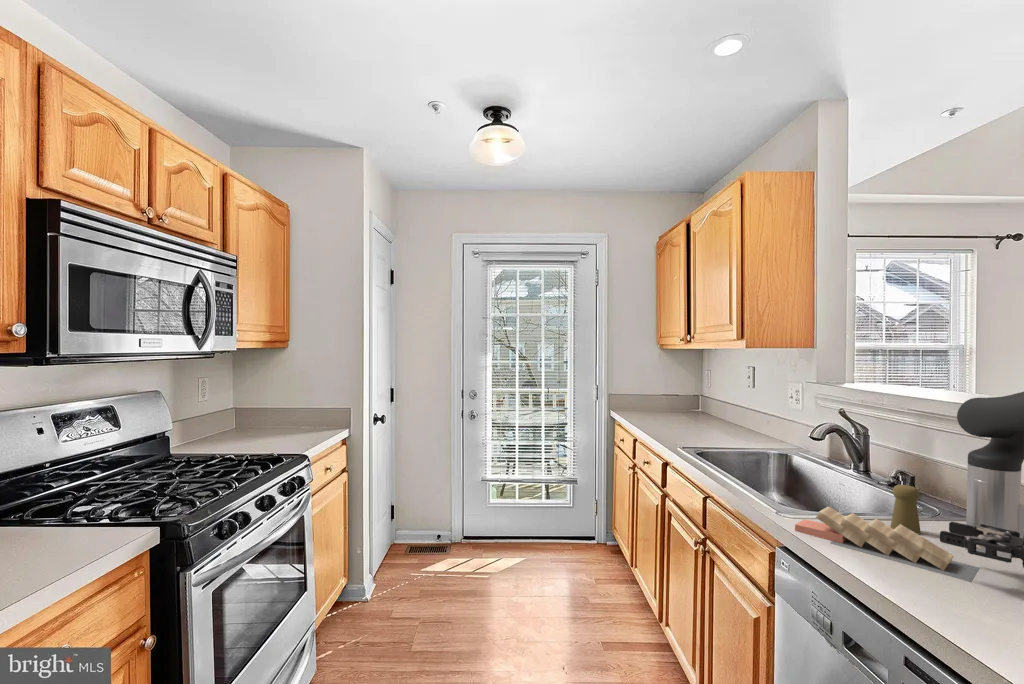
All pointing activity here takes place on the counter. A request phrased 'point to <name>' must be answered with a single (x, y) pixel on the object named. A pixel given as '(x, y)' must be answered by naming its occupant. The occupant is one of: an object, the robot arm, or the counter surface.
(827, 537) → the domino
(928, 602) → the counter surface
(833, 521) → the domino
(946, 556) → the domino
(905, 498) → the cork
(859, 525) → the domino
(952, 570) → the mat
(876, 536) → the domino
